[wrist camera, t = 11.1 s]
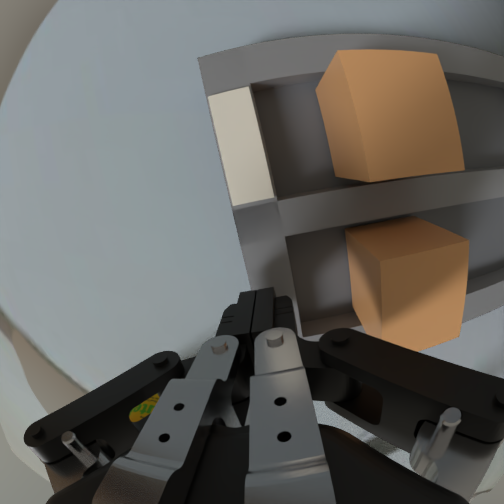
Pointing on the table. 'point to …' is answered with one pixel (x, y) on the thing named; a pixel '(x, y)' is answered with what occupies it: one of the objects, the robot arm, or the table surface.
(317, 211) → the tray
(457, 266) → the orange rectangular block
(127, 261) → the table surface
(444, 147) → the tan square block
